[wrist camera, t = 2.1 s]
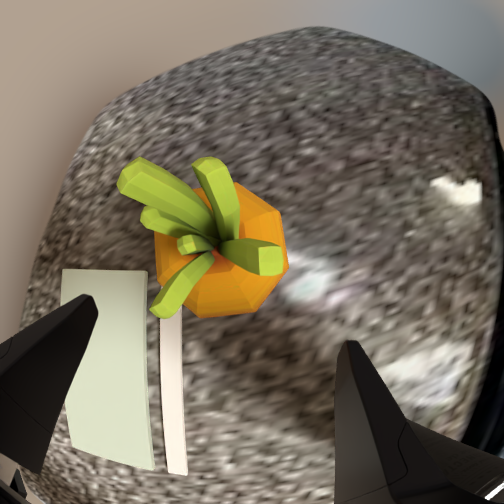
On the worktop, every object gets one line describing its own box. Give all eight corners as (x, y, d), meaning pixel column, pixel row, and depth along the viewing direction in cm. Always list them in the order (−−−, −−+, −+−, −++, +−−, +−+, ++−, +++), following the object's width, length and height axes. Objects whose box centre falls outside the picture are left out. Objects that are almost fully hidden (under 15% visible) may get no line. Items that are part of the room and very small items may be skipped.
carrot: (292, 292, 20) (364, 239, 5) (229, 329, 19) (128, 374, 5) (255, 231, 21) (232, 67, 6) (194, 267, 20) (56, 172, 6)
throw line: (188, 473, 17) (186, 475, 17) (169, 470, 17) (168, 472, 17) (183, 272, 20) (181, 271, 20) (163, 272, 20) (161, 271, 20)
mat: (155, 467, 17) (152, 470, 17) (75, 444, 18) (72, 446, 17) (147, 272, 20) (144, 270, 20) (66, 269, 21) (62, 268, 20)
